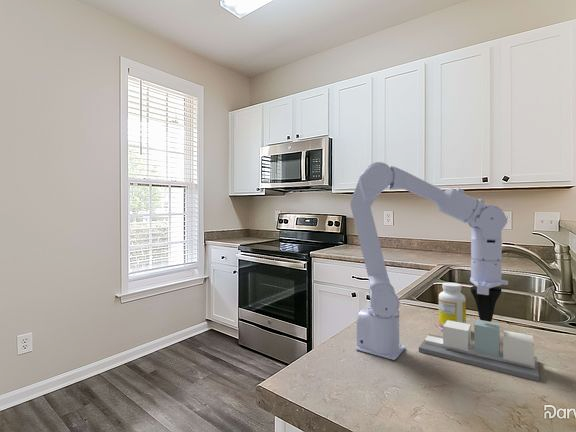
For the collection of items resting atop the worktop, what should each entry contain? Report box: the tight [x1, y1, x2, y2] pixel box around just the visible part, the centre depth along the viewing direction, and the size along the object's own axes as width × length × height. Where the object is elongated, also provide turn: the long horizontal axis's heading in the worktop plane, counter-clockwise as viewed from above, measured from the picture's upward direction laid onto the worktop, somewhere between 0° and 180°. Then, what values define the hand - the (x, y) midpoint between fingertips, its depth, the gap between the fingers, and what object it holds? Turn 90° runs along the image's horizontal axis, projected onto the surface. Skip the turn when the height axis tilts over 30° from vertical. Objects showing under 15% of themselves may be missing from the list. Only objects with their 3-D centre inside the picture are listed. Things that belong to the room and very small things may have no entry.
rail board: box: [418, 320, 540, 383], centre depth 70 cm, size 22×10×6 cm, turn 53°
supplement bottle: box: [438, 282, 467, 332], centre depth 86 cm, size 7×7×13 cm
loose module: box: [473, 319, 501, 357], centre depth 69 cm, size 4×4×6 cm
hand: (485, 320), depth 69 cm, fingers closed
